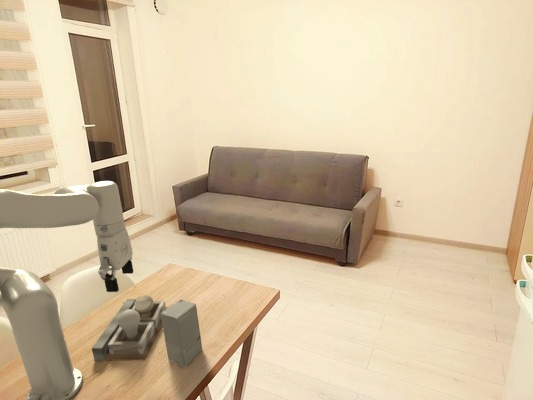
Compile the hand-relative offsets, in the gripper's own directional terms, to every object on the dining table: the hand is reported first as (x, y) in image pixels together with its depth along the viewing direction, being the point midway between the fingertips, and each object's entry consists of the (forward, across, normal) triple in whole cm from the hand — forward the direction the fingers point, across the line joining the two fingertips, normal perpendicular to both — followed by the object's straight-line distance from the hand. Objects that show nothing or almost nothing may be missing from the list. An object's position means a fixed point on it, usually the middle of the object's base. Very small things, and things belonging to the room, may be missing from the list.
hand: (120, 281), depth 97 cm
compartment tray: (+22, +6, +1) cm, 23 cm away
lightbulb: (+21, 0, 0) cm, 21 cm away
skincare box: (+22, -4, -17) cm, 29 cm away
